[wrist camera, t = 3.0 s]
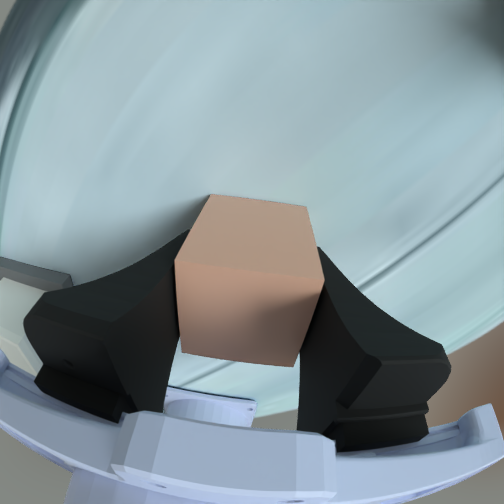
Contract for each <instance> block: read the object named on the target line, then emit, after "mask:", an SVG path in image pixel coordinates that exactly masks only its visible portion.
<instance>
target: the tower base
mask: <svg viewBox="0 0 504 504" xmlns="http://www.w3.org/2000/svg"><path fill="white" fill-rule="evenodd" d="M69 287H73V284H72V280H71V277H70V275H68V274H64V273H60V272H56V271H52V270H48V269H44V268H40V267H36V266H32V265H28V264H24V263H21V262H17V261H13V260H10V259H6V258H3V257H0V349H1V350H2V351H3V352H4V353H5V355H6V356H7V358H8V359H9V362H10V363H12V364H14V365H16V366H17V367H19V368H21V369H23V370H25V371H26V372H28V373H30V374H32V375H34V376H37V374H38V372H39V371H40V369H41V367H42V365H43V363H42V361H41V360H40V358H39V357H38V355H37V354H36V352H35V350H34V349H33V347H32V345H31V344H30V342H29V340H28V338H27V336H26V334H25V331H24V327H23V320H24V318H25V316H26V315H27V314H28V312H29V311H30V310H31V308H32V307H33V306H34V305H35V303H36V302H37V301H38V300H39V298H40V297H41V296H42V295H43V293H44V292H49V291H54V290H59V289H65V288H69Z"/></svg>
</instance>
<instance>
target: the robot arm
mask: <svg viewBox="0 0 504 504" xmlns="http://www.w3.org/2000/svg"><path fill="white" fill-rule="evenodd" d="M189 232H190V230H187V231H185V232H184V233H182V234H181V235H179V236H178V237H176V238H175V239H174V240H172V241H171V242H169V243H168V244H166V245H165V246H163V247H162V248H160V249H159V250H157V251H155V252H154V253H152V254H150V255H149V256H147V257H145V258H144V259H142V260H140V261H139V262H137V263H135V264H133V265H131V266H129V267H127V268H125V269H122V270H120V271H118V272H115V273H113V274H110V275H108V276H105V277H103V278H100V279H97V280H94V281H91V282H88V283H85V284H81V285H77V286H74V287H69V288H65V289H59V290H54V291H49V292H44V293H43V295H42V296H41V297H40V298H39V300H38V301H37V302H36V303H35V305H34V306H33V307H32V308H31V310H30V311H29V312H28V314H27V315H26V316H25V318H24V320H23V327H24V331H25V334H26V336H27V338H28V340H29V342H30V344H31V345H32V347H33V349H34V350H35V352H36V354H37V355H38V357H39V358H40V360H41V361H42V363H43V365H42V367H41V369H40V371H39V372H38V374H37V376H34V375H32V374H30V373H28V372H26V371H25V370H23V369H21V368H19V367H17V366H16V365H14V364H12V363H10V362H9V359H8V358H7V356H6V355H5V353H4V352H3V351H2V350H1V349H0V428H1V429H3V430H4V431H6V432H7V433H8V434H10V435H11V436H12V437H14V438H15V439H17V440H18V441H20V442H21V443H22V444H24V445H25V446H27V447H28V448H30V449H32V450H33V451H35V452H36V453H38V454H40V455H41V456H43V457H45V458H46V459H48V460H50V461H52V462H53V463H55V464H57V465H58V466H60V467H62V468H64V469H66V470H68V471H70V472H72V473H73V474H72V477H71V480H70V483H69V487H68V490H67V493H66V497H65V500H64V504H401V503H404V502H408V501H411V500H414V499H417V498H420V497H423V496H426V495H428V494H431V493H434V492H437V491H439V490H442V489H445V488H447V487H450V486H452V485H454V484H457V483H459V482H461V481H463V480H465V479H467V478H469V477H471V476H473V475H475V474H477V473H478V472H480V471H482V470H484V469H486V468H487V467H489V466H491V465H492V464H494V463H496V462H497V461H499V460H500V459H502V458H503V457H504V441H503V437H502V434H501V431H500V428H499V424H498V422H497V418H496V416H495V413H494V410H493V407H492V405H491V404H486V405H483V406H480V407H476V408H474V409H471V410H470V411H468V412H467V413H465V414H464V415H463V416H462V417H460V418H459V420H458V421H456V422H452V423H448V424H444V425H440V426H436V427H431V428H428V426H427V423H426V419H425V415H424V414H426V413H427V412H428V410H429V408H428V405H427V401H428V400H429V399H430V398H431V397H432V396H433V395H434V394H435V393H436V392H437V391H438V390H439V389H440V388H441V387H442V385H443V384H444V383H445V382H446V381H447V379H448V377H449V374H450V372H451V365H450V362H449V360H448V357H447V355H446V353H445V350H444V348H443V346H442V344H440V343H437V342H435V341H433V340H431V339H429V338H427V337H425V336H423V335H421V334H419V333H417V332H415V331H414V330H412V329H410V328H408V327H407V326H405V325H403V324H402V323H400V322H399V321H397V320H395V319H394V318H393V317H391V316H390V315H388V314H387V313H386V312H384V311H383V310H381V309H380V308H379V307H377V306H376V305H375V304H374V303H373V302H371V301H370V300H369V299H368V298H367V297H366V296H364V295H363V294H362V293H361V292H360V291H359V290H358V289H357V288H356V287H355V286H354V285H353V284H352V283H351V282H350V281H349V280H348V279H347V278H346V277H345V276H344V275H343V274H342V272H341V271H340V270H339V269H338V268H337V267H336V266H335V265H334V263H333V262H332V261H331V260H330V259H329V257H328V256H327V255H326V254H325V253H324V252H323V251H322V249H321V248H320V247H317V250H318V254H319V258H320V262H321V266H322V271H323V275H324V279H325V280H324V284H323V287H322V290H321V293H320V296H319V299H318V302H317V304H316V307H315V310H314V313H313V316H312V319H311V322H310V324H309V327H308V330H307V333H306V335H305V338H304V341H303V343H302V346H301V349H300V351H299V352H300V386H299V406H298V421H297V430H277V429H262V428H251V424H252V421H253V418H254V415H255V411H256V408H257V403H256V402H255V401H252V400H243V399H235V398H227V397H220V396H214V395H208V394H202V393H196V392H191V391H186V390H181V389H176V388H171V387H167V385H168V381H169V376H170V372H171V367H172V363H173V359H174V355H175V351H176V347H177V343H178V340H179V337H180V329H179V318H178V306H177V293H176V278H175V258H176V256H177V255H178V253H179V251H180V249H181V247H182V245H183V243H184V241H185V240H186V238H187V236H188V234H189ZM163 407H164V409H165V412H166V414H165V413H162V412H163Z"/></svg>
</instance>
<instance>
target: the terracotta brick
mask: <svg viewBox="0 0 504 504" xmlns="http://www.w3.org/2000/svg"><path fill="white" fill-rule="evenodd" d="M175 278H176V293H177V306H178V318H179V329H180V339H181V348H182V353H187V354H193V355H198V356H204V357H210V358H217V359H224V360H231V361H238V362H246V363H254V364H263V365H273V366H284V367H294V364H295V362H296V359H297V356H298V354H299V351H300V349H301V346H302V343H303V341H304V338H305V335H306V333H307V330H308V327H309V324H310V322H311V319H312V316H313V313H314V310H315V307H316V304H317V302H318V299H319V296H320V293H321V290H322V287H323V284H324V280H325V279H324V275H323V271H322V266H321V262H320V258H319V254H318V250H317V246H316V242H315V238H314V234H313V230H312V226H311V222H310V219H309V215H308V211H307V207H304V206H298V205H291V204H284V203H277V202H270V201H263V200H255V199H248V198H240V197H231V196H223V195H214V194H211V195H210V197H209V198H208V200H207V202H206V204H205V205H204V207H203V209H202V211H201V212H200V214H199V216H198V218H197V220H196V221H195V223H194V225H193V227H192V229H191V230H190V232H189V234H188V236H187V238H186V240H185V241H184V243H183V245H182V247H181V249H180V251H179V253H178V255H177V256H176V258H175Z"/></svg>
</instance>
